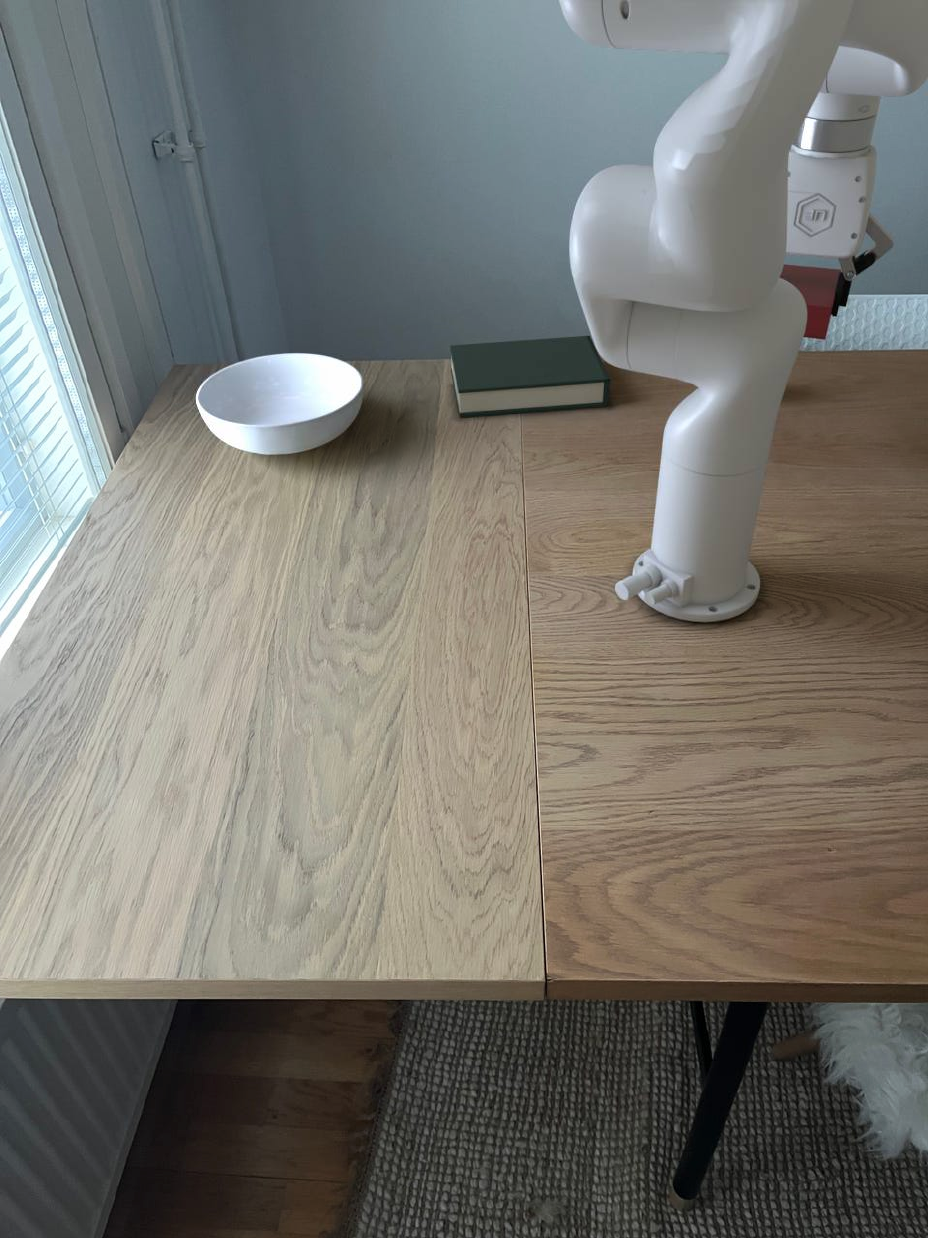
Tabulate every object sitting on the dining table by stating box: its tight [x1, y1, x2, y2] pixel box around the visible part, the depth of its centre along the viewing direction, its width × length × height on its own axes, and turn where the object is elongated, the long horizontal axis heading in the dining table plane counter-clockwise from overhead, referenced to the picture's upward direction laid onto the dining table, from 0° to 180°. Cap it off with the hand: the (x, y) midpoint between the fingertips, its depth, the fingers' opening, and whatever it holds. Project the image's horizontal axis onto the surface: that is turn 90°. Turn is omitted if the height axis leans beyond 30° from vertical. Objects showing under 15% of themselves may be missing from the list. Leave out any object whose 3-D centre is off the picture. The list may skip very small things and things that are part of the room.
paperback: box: [779, 263, 842, 341], centre depth 104 cm, size 11×7×4 cm, turn 159°
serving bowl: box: [195, 352, 365, 456], centre depth 121 cm, size 21×21×7 cm
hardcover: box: [449, 335, 611, 419], centre depth 130 cm, size 20×14×4 cm
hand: (798, 306), depth 105 cm, fingers closed on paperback, 7 cm apart
